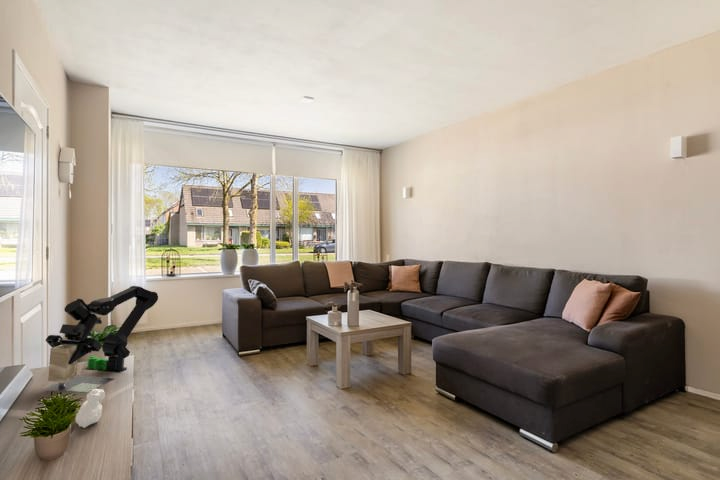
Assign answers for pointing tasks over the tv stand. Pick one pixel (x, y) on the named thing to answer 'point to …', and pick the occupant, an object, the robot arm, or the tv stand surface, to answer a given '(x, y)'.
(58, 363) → the sleeve
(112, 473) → the tv stand surface
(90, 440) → the tv stand surface
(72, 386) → the peg plate
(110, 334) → the robot arm
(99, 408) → the bust
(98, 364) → the green block
